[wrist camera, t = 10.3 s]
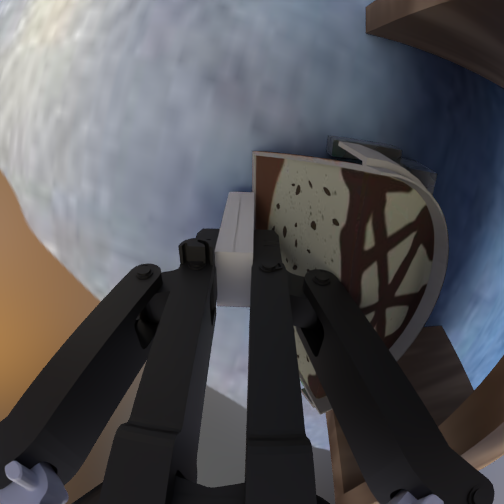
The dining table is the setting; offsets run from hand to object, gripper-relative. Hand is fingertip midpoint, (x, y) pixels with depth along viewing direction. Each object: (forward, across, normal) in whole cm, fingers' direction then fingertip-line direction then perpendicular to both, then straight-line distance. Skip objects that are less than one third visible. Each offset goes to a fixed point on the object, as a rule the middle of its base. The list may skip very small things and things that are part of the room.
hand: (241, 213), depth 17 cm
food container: (+2, +3, -1) cm, 4 cm away
